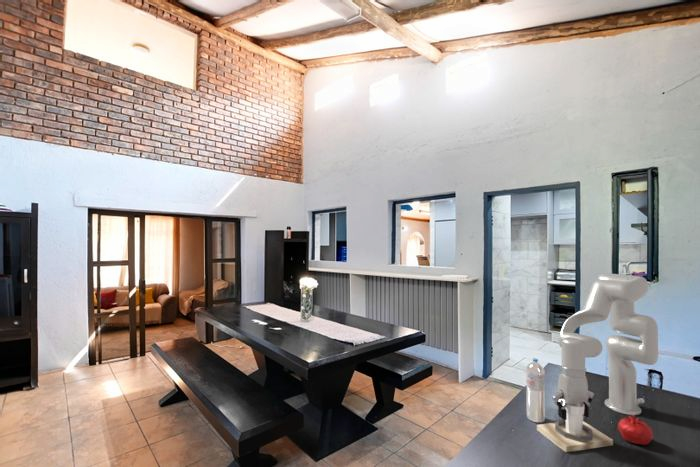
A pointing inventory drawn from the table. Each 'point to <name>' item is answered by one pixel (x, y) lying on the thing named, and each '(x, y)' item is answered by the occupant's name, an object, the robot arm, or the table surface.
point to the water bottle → (535, 392)
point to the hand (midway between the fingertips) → (573, 416)
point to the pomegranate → (635, 431)
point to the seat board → (573, 443)
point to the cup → (574, 418)
